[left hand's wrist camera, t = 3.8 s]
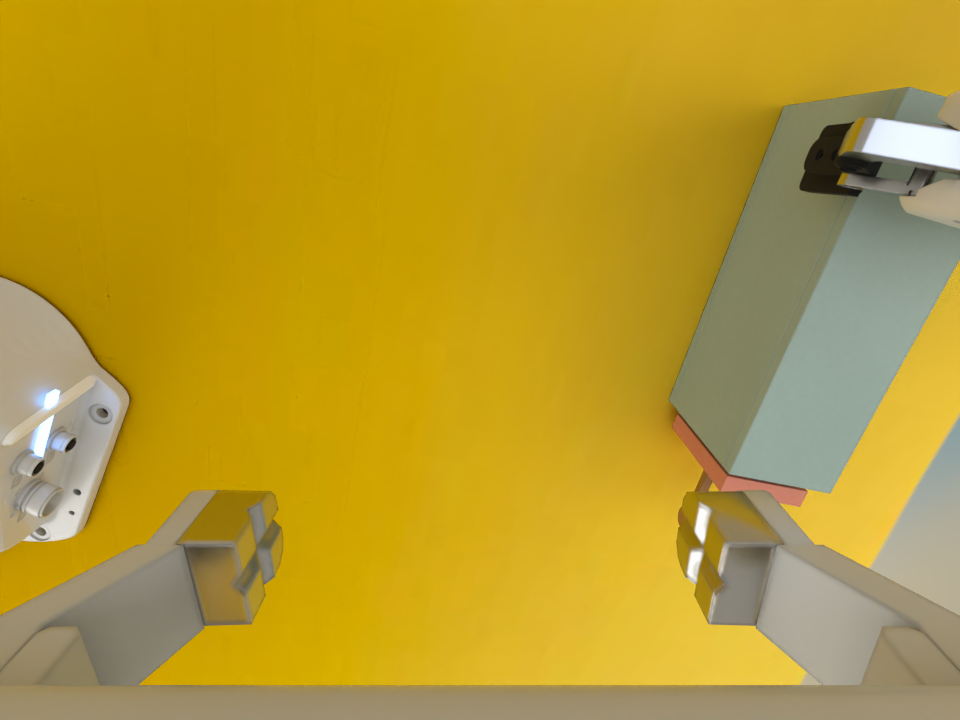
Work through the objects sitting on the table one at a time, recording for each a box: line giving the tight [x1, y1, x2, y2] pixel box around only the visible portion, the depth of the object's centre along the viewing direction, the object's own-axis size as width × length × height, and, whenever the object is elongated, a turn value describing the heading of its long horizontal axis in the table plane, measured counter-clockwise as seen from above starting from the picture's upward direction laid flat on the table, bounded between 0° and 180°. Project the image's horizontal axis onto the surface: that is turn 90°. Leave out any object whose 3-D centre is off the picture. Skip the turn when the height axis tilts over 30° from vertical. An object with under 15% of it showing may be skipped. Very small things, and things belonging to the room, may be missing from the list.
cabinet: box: [669, 87, 960, 493], centre depth 33 cm, size 21×7×10 cm, turn 167°
